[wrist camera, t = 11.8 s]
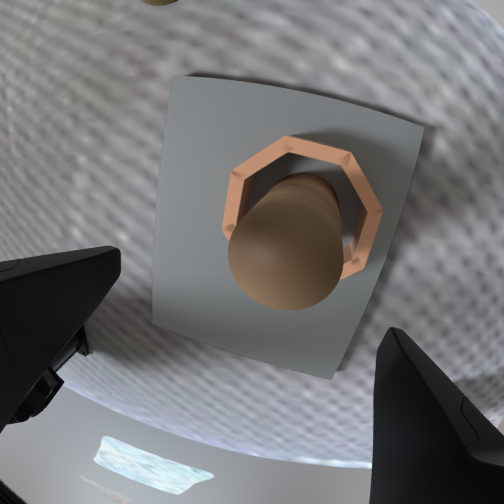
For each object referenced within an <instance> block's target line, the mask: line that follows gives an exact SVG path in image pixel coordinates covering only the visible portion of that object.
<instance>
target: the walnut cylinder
mask: <svg viewBox="0 0 504 504" xmlns="http://www.w3.org/2000/svg"><path fill="white" fill-rule="evenodd" d="M228 262H229V266H230V270H231V273H232V275H233V277H234V279H235V280H236V282H237V284H238V285H239V286H240V288H241V289H242V290H243V291H244V292H245V293H246V294H247V295H248V296H249V297H251V298H252V299H253V300H255V301H257V302H258V303H260V304H262V305H264V306H267V307H270V308H273V309H277V310H285V311H294V310H301V309H305V308H309V307H311V306H314V305H316V304H318V303H319V302H321V301H322V300H324V299H325V298H326V297H327V296H328V295H330V294H331V292H332V291H333V290H334V289H335V287H336V285H337V284H338V282H339V280H340V277H341V275H342V271H343V264H344V254H343V241H342V229H341V219H340V209H339V202H338V198H337V195H336V193H335V191H334V189H333V188H332V186H331V185H330V184H329V183H328V182H327V181H326V180H324V179H323V178H321V177H319V176H317V175H315V174H312V173H305V172H300V173H294V174H291V175H288V176H286V177H284V178H283V179H281V180H280V181H279V182H278V183H277V184H276V185H275V186H274V187H273V188H272V189H271V190H270V191H269V192H268V193H267V194H266V195H265V196H264V197H263V198H262V199H261V200H260V201H259V202H258V203H257V204H256V205H255V206H254V207H253V208H252V209H251V210H250V211H249V212H248V213H247V214H246V215H245V216H244V217H243V218H242V219H241V220H240V221H239V223H238V224H237V225H236V227H235V228H234V230H233V232H232V234H231V237H230V240H229V245H228Z"/></svg>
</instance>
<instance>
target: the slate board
mask: <svg viewBox="0 0 504 504" xmlns="http://www.w3.org/2000/svg"><path fill="white" fill-rule="evenodd" d="M423 133H424V127H422V126H419V125H416V124H414V123H411V122H408V121H405V120H403V119H400V118H397V117H394V116H391V115H388V114H385V113H382V112H379V111H375V110H372V109H369V108H366V107H362V106H359V105H355V104H352V103H348V102H344V101H340V100H336V99H332V98H328V97H324V96H320V95H316V94H311V93H307V92H302V91H297V90H292V89H287V88H281V87H275V86H270V85H263V84H257V83H250V82H242V81H234V80H226V79H216V78H205V77H191V76H173V82H172V87H171V93H170V98H169V104H168V111H167V117H166V124H165V131H164V138H163V146H162V154H161V162H160V171H159V181H158V191H157V202H156V215H155V230H154V248H153V274H152V324H153V325H155V326H158V327H161V328H163V329H166V330H169V331H171V332H174V333H177V334H179V335H182V336H185V337H188V338H190V339H193V340H196V341H199V342H202V343H205V344H208V345H211V346H213V347H216V348H220V349H223V350H226V351H229V352H232V353H235V354H238V355H241V356H245V357H248V358H251V359H255V360H258V361H261V362H265V363H268V364H272V365H275V366H279V367H283V368H286V369H290V370H294V371H298V372H302V373H306V374H310V375H314V376H318V377H322V378H326V379H330V380H331V379H332V377H333V376H334V374H335V372H336V370H337V368H338V366H339V364H340V362H341V360H342V358H343V356H344V354H345V352H346V350H347V348H348V346H349V344H350V342H351V340H352V337H353V335H354V333H355V331H356V329H357V327H358V324H359V322H360V320H361V318H362V316H363V313H364V311H365V309H366V306H367V304H368V302H369V299H370V297H371V295H372V292H373V290H374V287H375V285H376V282H377V280H378V277H379V275H380V272H381V270H382V267H383V265H384V262H385V259H386V257H387V254H388V251H389V248H390V246H391V243H392V240H393V237H394V234H395V231H396V228H397V225H398V222H399V219H400V216H401V213H402V210H403V207H404V204H405V200H406V197H407V194H408V190H409V187H410V184H411V180H412V176H413V173H414V169H415V165H416V162H417V158H418V154H419V150H420V146H421V141H422V137H423ZM287 135H291V136H295V137H300V138H304V139H308V140H312V141H316V142H320V143H324V144H328V145H332V146H336V147H339V148H343V149H346V150H349V151H350V152H351V153H352V155H353V156H354V158H355V160H356V161H357V163H358V165H359V167H360V168H361V170H362V172H363V174H364V175H365V177H366V179H367V181H368V183H369V184H370V186H371V188H372V190H373V192H374V194H375V196H376V197H377V199H378V201H379V203H380V205H381V207H382V209H383V213H382V216H381V220H380V223H379V226H378V229H377V232H376V235H375V238H374V241H373V244H372V247H371V250H370V252H369V255H368V258H367V261H366V264H365V266H364V269H362V270H360V271H358V272H356V273H354V274H352V275H350V276H348V277H346V278H344V279H341V280H339V282H338V284H337V285H336V287H335V289H334V290H333V291H332V292H331V294H330V295H328V296H327V297H326V298H325V299H324V300H322V301H321V302H319V303H318V304H316V305H314V306H311V307H309V308H305V309H301V310H294V311H285V310H277V309H273V308H270V307H267V306H264V305H262V304H260V303H258V302H257V301H255V300H253V299H252V298H251V297H249V296H248V295H247V294H246V293H245V292H244V291H243V290H242V289H241V288H240V286H239V285H238V284H237V282H236V280H235V279H234V277H233V275H232V273H231V270H230V266H229V262H228V245H229V240H228V239H227V237H226V236H225V234H224V233H223V231H222V230H221V229H222V223H223V217H224V210H225V204H226V198H227V192H228V186H229V180H230V174H231V171H232V170H233V169H235V168H236V167H238V166H239V165H241V164H242V163H243V162H245V161H246V160H248V159H249V158H251V157H253V156H254V155H256V154H257V153H259V152H260V151H262V150H263V149H265V148H266V147H268V146H269V145H271V144H272V143H274V142H276V141H277V140H279V139H280V138H282V137H284V136H287ZM300 172H305V173H312V174H315V175H317V176H319V177H321V178H323V179H324V180H326V181H327V182H328V183H329V184H330V185H331V186H332V188H333V189H334V191H335V193H336V195H337V198H338V202H339V209H340V219H341V229H342V241H343V247H345V246H347V245H349V244H350V242H351V239H352V236H353V233H354V230H355V226H356V223H357V220H358V216H359V213H360V210H361V206H362V201H361V199H360V197H359V195H358V194H357V192H356V190H355V188H354V186H353V185H352V183H351V181H350V179H349V178H348V176H347V174H346V173H345V171H344V169H343V167H342V166H341V165H338V164H334V163H330V162H327V161H323V160H319V159H315V158H311V157H307V156H303V155H299V154H295V153H290V152H288V153H287V154H285V155H283V156H282V157H280V158H279V159H277V160H275V161H274V162H272V163H271V164H269V165H268V166H266V167H264V168H263V169H261V170H260V171H258V172H257V173H255V175H254V180H253V186H252V191H251V196H250V201H249V206H248V212H249V211H250V210H251V209H252V208H253V207H254V206H255V205H256V204H257V203H258V202H259V201H260V200H261V199H262V198H263V197H264V196H265V195H266V194H267V193H268V192H269V191H270V190H271V189H272V188H273V187H274V186H275V185H276V184H277V183H278V182H279V181H280V180H281V179H283V178H284V177H286V176H288V175H291V174H294V173H300ZM248 212H247V213H248Z"/></svg>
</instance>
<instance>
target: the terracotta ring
mask: <svg viewBox="0 0 504 504" xmlns="http://www.w3.org/2000/svg"><path fill="white" fill-rule="evenodd" d="M288 152H290V153H295V154H299V155H303V156H307V157H311V158H315V159H319V160H323V161H327V162H330V163H334V164H338V165H341V166H342V167H343V169H344V171H345V173H346V174H347V176H348V178H349V179H350V181H351V183H352V185H353V186H354V188H355V190H356V192H357V194H358V195H359V197H360V199H361V201H362V206H361V210H360V213H359V216H358V220H357V223H356V226H355V230H354V233H353V236H352V239H351V242H350V244H349V245H347V246H345V247H343V254H344V264H343V271H342V275H341V277H340V280H341V279H344V278H346V277H348V276H350V275H352V274H354V273H356V272H358V271H360V270H362V269H364V266H365V264H366V261H367V258H368V255H369V252H370V250H371V247H372V244H373V241H374V238H375V235H376V232H377V229H378V226H379V223H380V220H381V216H382V213H383V209H382V207H381V205H380V203H379V201H378V199H377V197H376V196H375V194H374V192H373V190H372V188H371V186H370V184H369V183H368V181H367V179H366V177H365V175H364V174H363V172H362V170H361V168H360V167H359V165H358V163H357V161H356V160H355V158H354V156H353V155H352V153H351V152H350V151H349V150H346V149H343V148H339V147H336V146H332V145H328V144H324V143H320V142H316V141H312V140H308V139H304V138H300V137H295V136H291V135H287V136H284V137H282V138H280V139H279V140H277V141H276V142H274V143H272V144H271V145H269V146H268V147H266V148H265V149H263V150H262V151H260V152H259V153H257V154H256V155H254V156H253V157H251V158H249V159H248V160H246V161H245V162H243V163H242V164H241V165H239V166H238V167H236V168H235V169H233V170H232V171H231V174H230V180H229V186H228V192H227V198H226V204H225V210H224V217H223V223H222V229H221V230H222V231H223V233H224V234H225V236H226V237H227V239H228V240H230V237H231V234H232V232H233V230H234V228H235V227H236V225H237V224H238V223H239V221H240V220H241V219H242V218H243V217H244V216H245V215H246V214H247V212H248V206H249V201H250V196H251V191H252V186H253V180H254V175H255V173H257V172H258V171H260V170H261V169H263V168H264V167H266V166H268V165H269V164H271V163H272V162H274V161H275V160H277V159H279V158H280V157H282V156H283V155H285V154H287V153H288Z"/></svg>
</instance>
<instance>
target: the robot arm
mask: <svg viewBox="0 0 504 504" xmlns="http://www.w3.org/2000/svg"><path fill="white" fill-rule="evenodd" d="M120 273H121V252H120V250H119V249H118V248H116V247H113V246H102V247H95V248H88V249H81V250H74V251H68V252H61V253H54V254H48V255H41V256H35V257H29V258H23V259H16V260H9V261H3V262H0V433H1V432H2V430H3V429H4V427H5V426H6V425H7V424H13V423H19V422H24V421H26V420H28V419H29V417H34V416H36V415H38V414H39V413H40V412H42V411H43V409H45V408H46V407H47V405H48V404H49V403H50V401H51V400H52V399H53V397H54V396H55V395H56V393H57V392H58V390H59V389H60V388H61V386H62V385H63V384H64V381H63V380H62V378H60V377H59V376H58V375H57V373H56V372H57V371H58V370H59V369H60V368H61V367H62V366H63V365H64V364H65V363H66V362H67V361H68V360H69V359H70V358H71V357H72V356H73V355H74V354H75V353H76V352H78V353H80V354H82V355H84V356H87V355H88V354H89V352H88V347H87V342H86V337H85V332H84V327H83V324H84V322H85V321H86V320H87V319H88V318H89V317H90V315H91V314H92V313H93V312H94V311H95V309H96V308H97V307H98V306H99V304H100V303H101V302H102V300H103V299H104V297H105V296H106V294H107V293H108V292H109V290H110V289H111V287H112V286H113V285H114V283H115V282H116V280H117V279H118V278H119V276H120ZM371 477H372V478H371V490H370V501H369V504H504V435H503V434H502V433H501V432H500V431H499V430H498V429H497V428H496V427H495V426H494V425H493V424H492V423H491V422H490V421H489V420H488V419H487V418H486V417H485V416H484V415H483V414H482V413H481V412H480V411H479V410H478V409H477V408H476V407H475V406H474V405H473V404H472V403H471V402H470V400H469V399H468V398H467V397H466V396H464V394H463V393H462V392H461V391H460V390H459V388H458V387H457V386H456V385H455V384H454V383H453V382H452V381H451V380H450V379H449V378H448V377H447V376H446V374H445V373H444V372H443V371H442V370H441V369H440V368H439V367H438V366H437V365H436V364H435V363H434V362H433V361H432V360H431V359H430V358H429V357H428V356H427V354H426V353H425V352H424V351H423V350H422V349H421V348H420V347H419V346H418V345H417V344H416V343H415V342H414V341H413V340H412V339H411V338H410V337H409V336H408V335H407V334H406V333H405V332H404V331H403V330H402V329H398V328H394V327H390V328H389V329H388V330H387V332H386V334H385V336H384V338H383V340H382V342H381V344H380V345H379V347H378V350H377V357H376V370H375V382H374V394H373V458H372V476H371ZM0 504H28V503H26V502H25V501H24V500H23V499H22V498H20V497H19V496H18V495H17V494H16V493H15V492H14V491H12V490H11V489H10V488H9V487H8V486H7V485H6V484H5V483H4V482H3V481H2V480H0Z"/></svg>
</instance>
